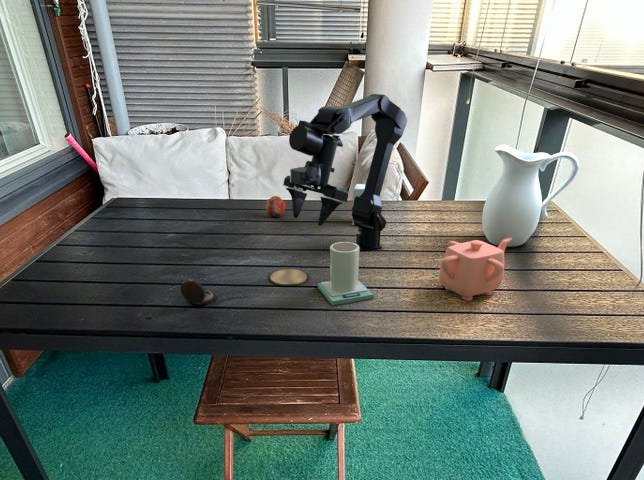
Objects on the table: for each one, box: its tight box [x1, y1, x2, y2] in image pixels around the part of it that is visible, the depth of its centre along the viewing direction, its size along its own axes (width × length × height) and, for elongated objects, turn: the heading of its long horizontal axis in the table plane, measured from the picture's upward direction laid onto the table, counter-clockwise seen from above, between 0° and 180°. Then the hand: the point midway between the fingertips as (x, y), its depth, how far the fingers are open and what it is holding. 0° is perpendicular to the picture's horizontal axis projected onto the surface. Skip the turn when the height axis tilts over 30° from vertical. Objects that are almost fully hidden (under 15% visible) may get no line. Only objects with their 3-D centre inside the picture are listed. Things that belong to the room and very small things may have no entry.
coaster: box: [270, 268, 308, 287], centre depth 133 cm, size 10×10×1 cm
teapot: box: [438, 238, 512, 301], centre depth 122 cm, size 17×16×13 cm
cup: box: [329, 241, 360, 292], centre depth 122 cm, size 7×7×11 cm
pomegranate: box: [265, 195, 286, 218], centre depth 178 cm, size 7×7×10 cm
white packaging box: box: [351, 183, 366, 226], centre depth 169 cm, size 7×7×13 cm
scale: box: [317, 279, 374, 306], centre depth 125 cm, size 11×11×2 cm
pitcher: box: [481, 144, 580, 248], centre depth 147 cm, size 24×17×28 cm
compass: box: [180, 278, 215, 306], centre depth 120 cm, size 8×8×7 cm
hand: (307, 221), depth 129 cm, fingers open, 9 cm apart
